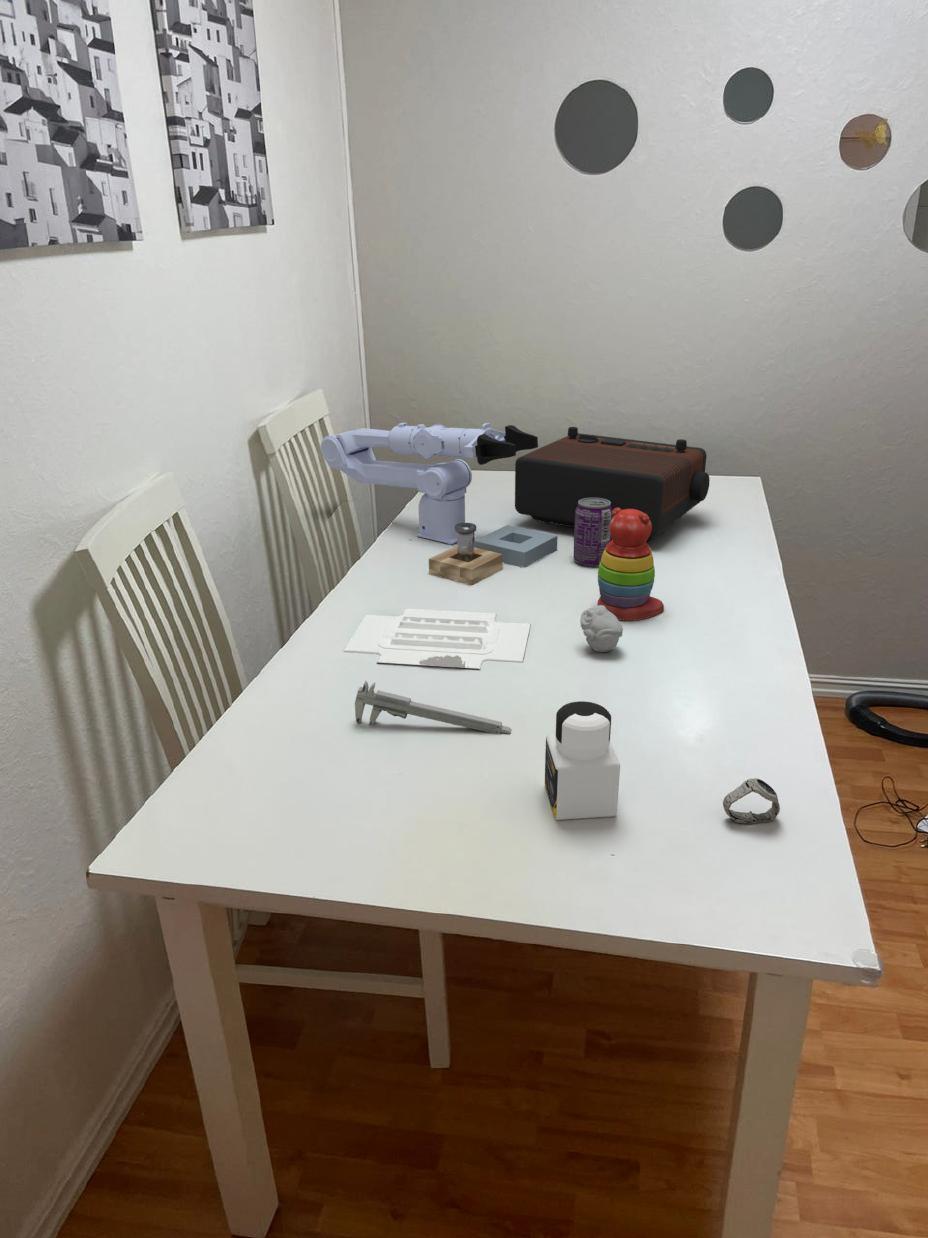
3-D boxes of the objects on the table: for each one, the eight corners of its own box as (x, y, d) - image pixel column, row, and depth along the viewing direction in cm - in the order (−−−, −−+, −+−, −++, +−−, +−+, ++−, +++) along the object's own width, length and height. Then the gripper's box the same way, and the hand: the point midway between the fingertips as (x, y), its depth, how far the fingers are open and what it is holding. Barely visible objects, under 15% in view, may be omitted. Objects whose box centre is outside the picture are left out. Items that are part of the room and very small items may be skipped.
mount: (429, 573, 169) (428, 558, 168) (460, 558, 176) (460, 543, 175) (471, 585, 164) (471, 569, 162) (502, 568, 171) (502, 554, 170)
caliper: (355, 725, 120) (353, 683, 117) (358, 721, 121) (355, 679, 118) (510, 736, 117) (511, 693, 114) (511, 731, 118) (511, 689, 115)
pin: (451, 567, 169) (450, 526, 166) (463, 561, 172) (463, 521, 169) (468, 571, 167) (467, 530, 164) (480, 565, 170) (480, 525, 167)
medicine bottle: (544, 784, 106) (546, 696, 101) (603, 781, 107) (608, 692, 102) (554, 821, 100) (557, 729, 95) (617, 817, 100) (624, 725, 95)
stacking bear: (668, 609, 153) (677, 508, 145) (635, 627, 146) (643, 523, 139) (615, 593, 159) (621, 496, 152) (581, 610, 153) (586, 509, 145)
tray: (370, 611, 155) (370, 591, 153) (531, 625, 151) (533, 605, 150) (337, 666, 136) (337, 644, 135) (520, 683, 133) (522, 661, 131)
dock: (473, 555, 178) (473, 540, 177) (507, 538, 187) (507, 524, 186) (524, 567, 171) (524, 552, 170) (557, 549, 180) (557, 535, 179)
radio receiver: (711, 518, 197) (720, 437, 190) (667, 555, 177) (675, 466, 169) (568, 495, 215) (571, 420, 207) (513, 526, 194) (514, 444, 187)
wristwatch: (782, 827, 99) (788, 789, 96) (727, 830, 98) (732, 792, 96) (769, 808, 102) (775, 771, 100) (716, 811, 101) (721, 774, 99)
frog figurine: (594, 636, 143) (596, 596, 140) (630, 650, 139) (633, 609, 136) (570, 649, 139) (572, 607, 136) (606, 663, 135) (609, 621, 132)
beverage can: (609, 555, 177) (612, 497, 172) (610, 568, 170) (614, 508, 165) (572, 554, 177) (575, 496, 172) (573, 567, 171) (575, 507, 166)
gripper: (444, 429, 170) (502, 432, 162) (487, 416, 181) (545, 418, 173) (447, 466, 173) (505, 470, 165) (490, 451, 183) (547, 454, 175)
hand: (526, 446), depth 169 cm, fingers open, 7 cm apart
